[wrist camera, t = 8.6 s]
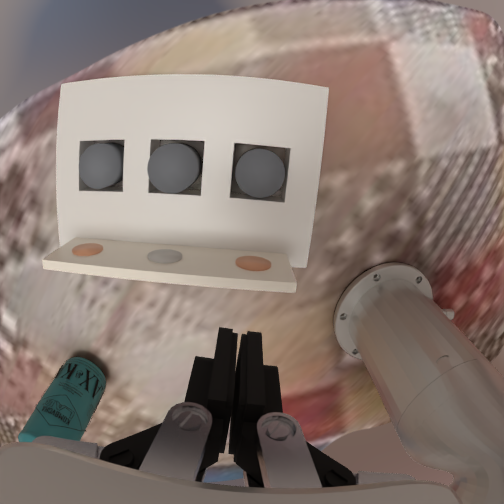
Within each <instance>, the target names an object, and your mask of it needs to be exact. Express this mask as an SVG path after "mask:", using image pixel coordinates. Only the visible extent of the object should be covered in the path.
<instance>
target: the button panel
mask: <svg viewBox="0 0 504 504" xmlns="http://www.w3.org/2000/svg"><path fill="white" fill-rule="evenodd" d="M328 92H329V88H327V87H322V86H316V85H310V84H303V83H297V82H290V81H282V80H274V79H265V78H254V77H243V76H228V75H204V74H161V75H138V76H123V77H112V78H102V79H93V80H85V81H78V82H71V83H65V84H61V92H60V102H59V112H58V126H57V146H56V196H57V216H58V230H59V241H60V248H58V249H57V250H55V251H54V252H52V253H51V254H50V255H48V256H47V257H45V258H44V259H42V262H43V268H44V269H48V270H56V271H63V272H71V273H79V274H87V275H96V276H104V277H113V278H122V279H131V280H140V281H150V282H160V283H171V284H181V285H192V286H204V287H216V288H229V289H242V290H256V291H271V292H286V293H296V287H297V281H296V279H295V276H294V273H293V270H292V268H291V267H298V268H306V267H307V261H308V255H309V249H310V242H311V236H312V229H313V222H314V215H315V208H316V201H317V193H318V186H319V178H320V170H321V161H322V153H323V144H324V134H325V125H326V114H327V104H328ZM95 140H125V142H124V163H123V187H115V186H107V187H105V188H102V189H94V188H91V187H89V186H87V185H86V184H85V183H84V182H83V180H82V179H81V176H80V173H79V161H80V158H81V155H82V154H83V152H84V151H85V150H86V149H87V148H88V147H89V146H91V145H93V144H94V141H95ZM160 140H192V141H205V145H204V157H203V171H202V186H201V190H188V189H185V190H183V191H181V192H178V193H171V194H170V193H165V192H162V191H160V190H158V189H157V188H156V187H155V186H154V185H153V184H152V183H151V181H150V179H149V176H148V171H147V167H148V161H149V159H150V157H151V155H152V154H153V152H154V151H155V150H156V149H157V148H159V146H160ZM235 143H241V144H253V145H263V146H273V147H282V148H286V151H285V161H284V168H285V179H284V182H283V184H282V188H281V197H278V196H268V197H264V198H256V197H252V196H250V195H248V194H244V193H232V192H231V187H232V175H233V163H234V151H235Z"/></svg>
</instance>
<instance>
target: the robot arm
mask: <svg viewBox="0 0 504 504" xmlns="http://www.w3.org/2000/svg"><path fill="white" fill-rule="evenodd" d="M374 275H375V276H374ZM453 318H454V311H453V309H441V308H440V307H439V306H438V305H437V304H436V303H435V302H434V301H433V293H432V288H431V286H430V283H429V281H428V280H427V278H426V277H425V276H424V275H423V274H422V273H421V272H420V271H419V270H418V269H416V268H414V267H413V266H411V265H408V264H405V263H397V262H393V263H385V264H382V265H379V266H376V267H373V268H371V269H369V270H368V271H366V272H364V273H363V274H361V275H360V276H359V277H357V278H356V279H355V280H354V281H353V282H352V283H351V284H350V285H349V286H348V287H347V289H346V290H345V292H344V293H343V294H342V296H341V298H340V300H339V302H338V304H337V306H336V310H335V313H334V321H333V326H334V333H335V335H336V338H337V340H338V342H339V344H340V346H341V348H342V349H343V350H344V351H345V352H346V353H347V354H349V355H350V356H352V357H355V358H357V359H360V360H363V362H364V364H365V366H366V368H367V370H368V372H369V374H370V376H371V378H372V381H373V383H374V385H375V387H376V389H377V391H378V393H379V395H380V397H381V399H382V402H383V404H384V406H385V408H386V410H387V412H388V414H389V417H390V419H391V421H392V423H393V425H394V427H395V430H396V432H397V434H398V436H399V438H400V440H401V443H402V445H403V446H404V449H405V450H406V452H407V453H408V455H409V456H410V457H411V458H412V459H413V460H414V461H416V462H417V463H419V464H421V465H423V466H426V467H430V468H433V469H438V470H443V471H447V472H449V473H451V474H452V475H453V477H454V479H453V482H452V483H451V484H450V485H449V486H446V485H444V484H441V483H437V482H432V481H424V480H415V478H413V477H412V476H410V475H406V474H393V473H391V474H390V473H376V472H364V471H358V473H352V472H351V471H350V470H349V469H348V468H346V467H345V466H343V465H341V464H340V463H338V462H337V461H335V460H333V459H332V458H330V457H329V456H327V455H326V454H324V453H322V452H321V451H320V450H318V449H317V448H315V447H314V446H312V445H311V444H309V443H308V442H306V441H305V438H304V435H303V432H302V429H301V427H300V425H299V423H298V421H296V420H295V419H294V418H293V417H291V416H290V415H288V414H284V413H283V410H282V401H281V392H280V383H279V373H278V367H277V366H268V365H263V351H262V333H259V332H251V331H248V332H247V335H246V334H242V336H241V342H240V348H239V354H238V359H237V365H236V352H237V337H238V333H232V332H233V329H228V328H221V327H219V332H218V338H217V344H216V350H215V356H214V359H211V358H205V357H198V356H196V357H195V360H194V364H193V368H192V372H191V376H190V380H189V385H188V389H187V393H186V397H185V402H182V403H179V404H176V405H175V406H173V407H171V409H170V410H169V411H168V413H167V415H166V417H165V419H164V421H163V423H161V424H158V425H156V426H154V427H151V428H149V429H146V430H144V431H142V432H139V433H137V434H134V435H132V436H129V437H127V438H124V439H121V440H119V441H116V442H113V443H111V444H109V445H107V446H106V447H101V446H98V445H97V443H90V442H82V441H75V440H69V439H63V438H57V437H52V436H40V437H37V438H36V439H34V440H33V441H32V442H15V443H9V444H5V445H4V446H2V447H0V504H504V377H503V376H502V375H501V374H500V373H499V371H498V370H497V369H496V368H495V367H494V366H493V365H492V364H491V362H489V361H488V360H487V358H486V357H485V356H484V355H483V354H482V353H481V352H480V351H479V350H478V349H477V348H476V346H475V345H474V344H473V343H472V342H471V341H470V340H469V339H468V338H467V337H466V336H465V335H464V334H463V333H462V332H461V331H460V330H459V329H458V327H457V326H456V325H455V324H454V323H453V322H452V321H451V320H452V319H453ZM235 368H236V371H235ZM230 418H231V422H230ZM229 423H230V438H229V454H234V462H236V464H237V465H238V466H240V467H241V468H242V469H243V470H244V471H243V476H244V482H245V487H241V486H240V487H239V486H228V485H219V484H211V483H203V481H204V478H205V475H206V471H207V467H209V466H211V465H212V464H214V463H216V462H217V461H218V456H219V453H224V451H225V445H226V440H227V434H228V429H229Z"/></svg>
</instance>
